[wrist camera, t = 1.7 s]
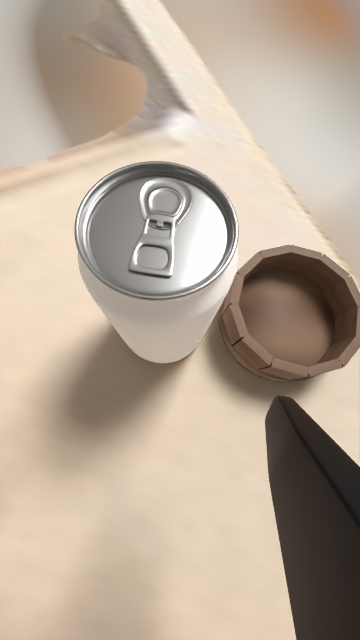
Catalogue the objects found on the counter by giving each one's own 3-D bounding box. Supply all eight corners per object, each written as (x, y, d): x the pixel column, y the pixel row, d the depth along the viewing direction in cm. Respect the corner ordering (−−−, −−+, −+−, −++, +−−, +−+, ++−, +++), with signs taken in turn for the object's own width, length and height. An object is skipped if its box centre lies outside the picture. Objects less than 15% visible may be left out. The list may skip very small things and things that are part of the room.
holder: (356, 363, 20) (394, 356, 17) (240, 396, 19) (256, 395, 15) (308, 257, 23) (332, 233, 19) (204, 280, 21) (210, 258, 18)
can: (208, 292, 21) (257, 166, 10) (198, 370, 19) (243, 328, 8) (131, 280, 21) (89, 139, 10) (113, 357, 19) (33, 294, 8)
